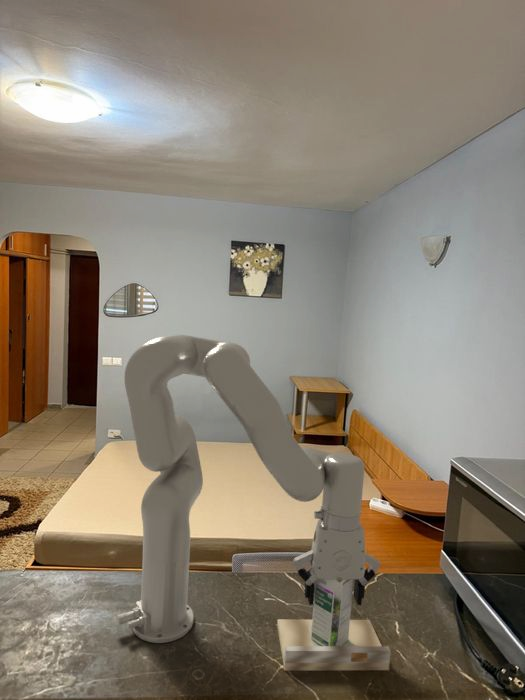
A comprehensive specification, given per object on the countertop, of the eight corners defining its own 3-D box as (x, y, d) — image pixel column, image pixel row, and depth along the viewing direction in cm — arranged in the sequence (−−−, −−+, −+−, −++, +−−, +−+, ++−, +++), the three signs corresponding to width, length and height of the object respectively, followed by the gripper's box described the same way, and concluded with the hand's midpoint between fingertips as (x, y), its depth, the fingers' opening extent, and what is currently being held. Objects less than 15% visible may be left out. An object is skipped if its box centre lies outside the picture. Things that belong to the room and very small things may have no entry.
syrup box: (309, 638, 91) (314, 569, 90) (325, 625, 95) (331, 558, 94) (333, 654, 87) (339, 582, 86) (349, 639, 92) (355, 570, 90)
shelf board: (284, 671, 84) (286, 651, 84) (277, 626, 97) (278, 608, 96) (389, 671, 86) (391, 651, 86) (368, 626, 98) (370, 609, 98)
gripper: (300, 525, 85) (293, 612, 86) (390, 528, 86) (382, 613, 88) (294, 508, 92) (288, 588, 94) (377, 510, 94) (369, 589, 95)
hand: (333, 600), depth 91 cm, fingers open, 9 cm apart
